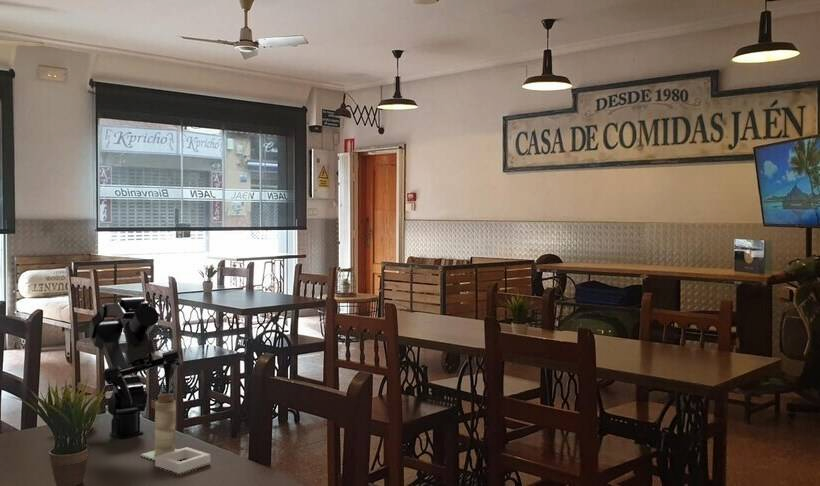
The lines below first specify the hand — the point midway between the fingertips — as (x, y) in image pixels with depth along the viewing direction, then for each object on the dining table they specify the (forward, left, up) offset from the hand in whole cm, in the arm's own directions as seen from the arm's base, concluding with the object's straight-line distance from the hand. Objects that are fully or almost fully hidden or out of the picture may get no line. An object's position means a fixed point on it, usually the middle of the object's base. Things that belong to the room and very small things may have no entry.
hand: (149, 398), depth 185 cm
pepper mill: (0, +7, -12) cm, 14 cm away
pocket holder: (+2, +16, -13) cm, 21 cm away
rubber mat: (0, +7, -13) cm, 15 cm away
